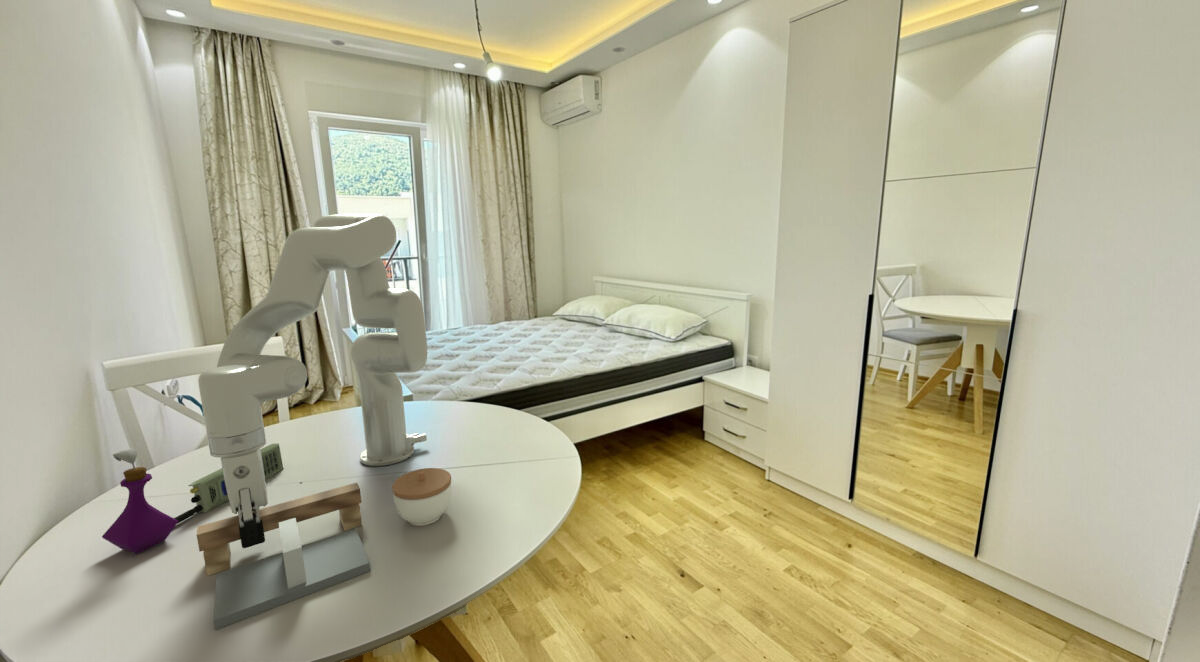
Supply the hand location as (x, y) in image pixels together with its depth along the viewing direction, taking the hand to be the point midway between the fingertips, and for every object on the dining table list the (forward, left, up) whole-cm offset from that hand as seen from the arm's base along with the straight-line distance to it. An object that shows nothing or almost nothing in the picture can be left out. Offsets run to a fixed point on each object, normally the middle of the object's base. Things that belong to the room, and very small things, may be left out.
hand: (253, 538), depth 83 cm
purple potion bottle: (+16, -15, -3) cm, 22 cm away
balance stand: (-5, +11, -3) cm, 13 cm away
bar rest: (-5, 0, -3) cm, 6 cm away
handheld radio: (+3, -28, -3) cm, 28 cm away
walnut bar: (-5, 0, +1) cm, 5 cm away
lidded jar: (-27, +7, -3) cm, 28 cm away
